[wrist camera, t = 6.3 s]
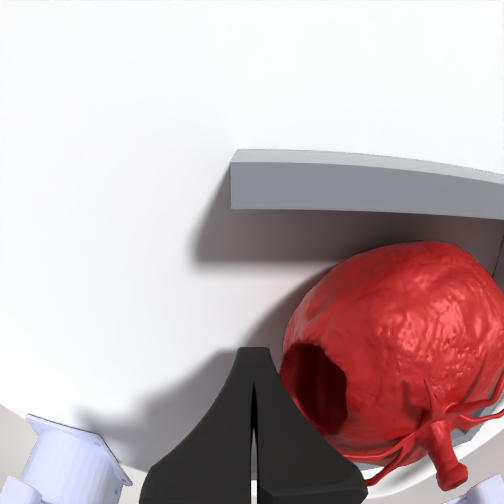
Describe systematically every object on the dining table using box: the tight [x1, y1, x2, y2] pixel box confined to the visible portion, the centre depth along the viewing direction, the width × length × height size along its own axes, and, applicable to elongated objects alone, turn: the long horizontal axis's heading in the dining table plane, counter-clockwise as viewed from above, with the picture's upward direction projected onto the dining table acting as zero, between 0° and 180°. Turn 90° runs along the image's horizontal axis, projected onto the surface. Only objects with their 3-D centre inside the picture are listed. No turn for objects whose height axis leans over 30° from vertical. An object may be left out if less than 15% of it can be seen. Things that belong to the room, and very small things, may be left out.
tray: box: [230, 149, 504, 480], centre depth 12 cm, size 16×15×4 cm
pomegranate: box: [279, 241, 504, 491], centre depth 10 cm, size 10×10×9 cm
